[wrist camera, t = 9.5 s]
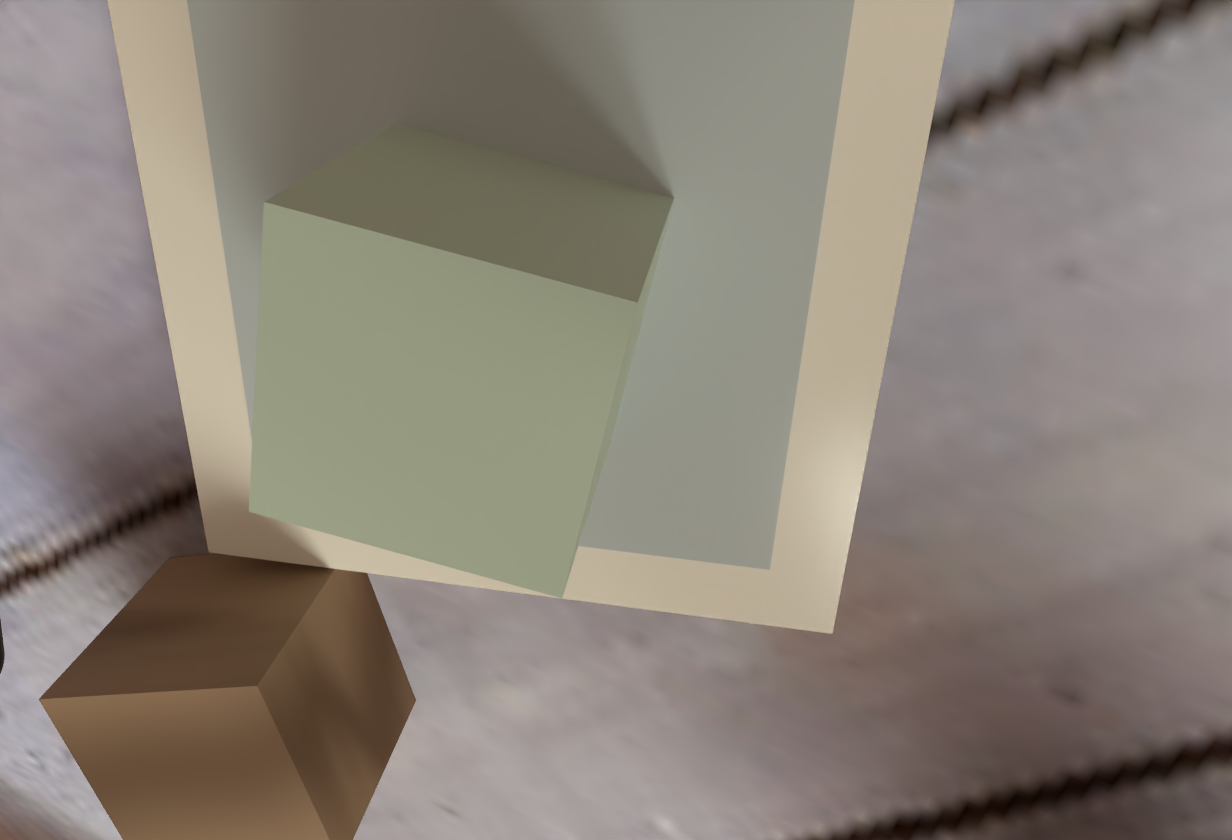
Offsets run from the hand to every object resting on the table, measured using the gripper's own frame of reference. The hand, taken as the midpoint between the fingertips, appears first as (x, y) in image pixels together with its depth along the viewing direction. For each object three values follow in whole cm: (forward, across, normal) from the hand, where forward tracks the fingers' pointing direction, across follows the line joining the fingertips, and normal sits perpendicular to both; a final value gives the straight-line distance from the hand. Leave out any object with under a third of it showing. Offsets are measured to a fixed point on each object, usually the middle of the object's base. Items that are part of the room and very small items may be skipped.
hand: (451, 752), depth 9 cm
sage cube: (+10, +2, 0) cm, 11 cm away
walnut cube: (+12, +6, +11) cm, 17 cm away
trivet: (+12, +2, 0) cm, 12 cm away
